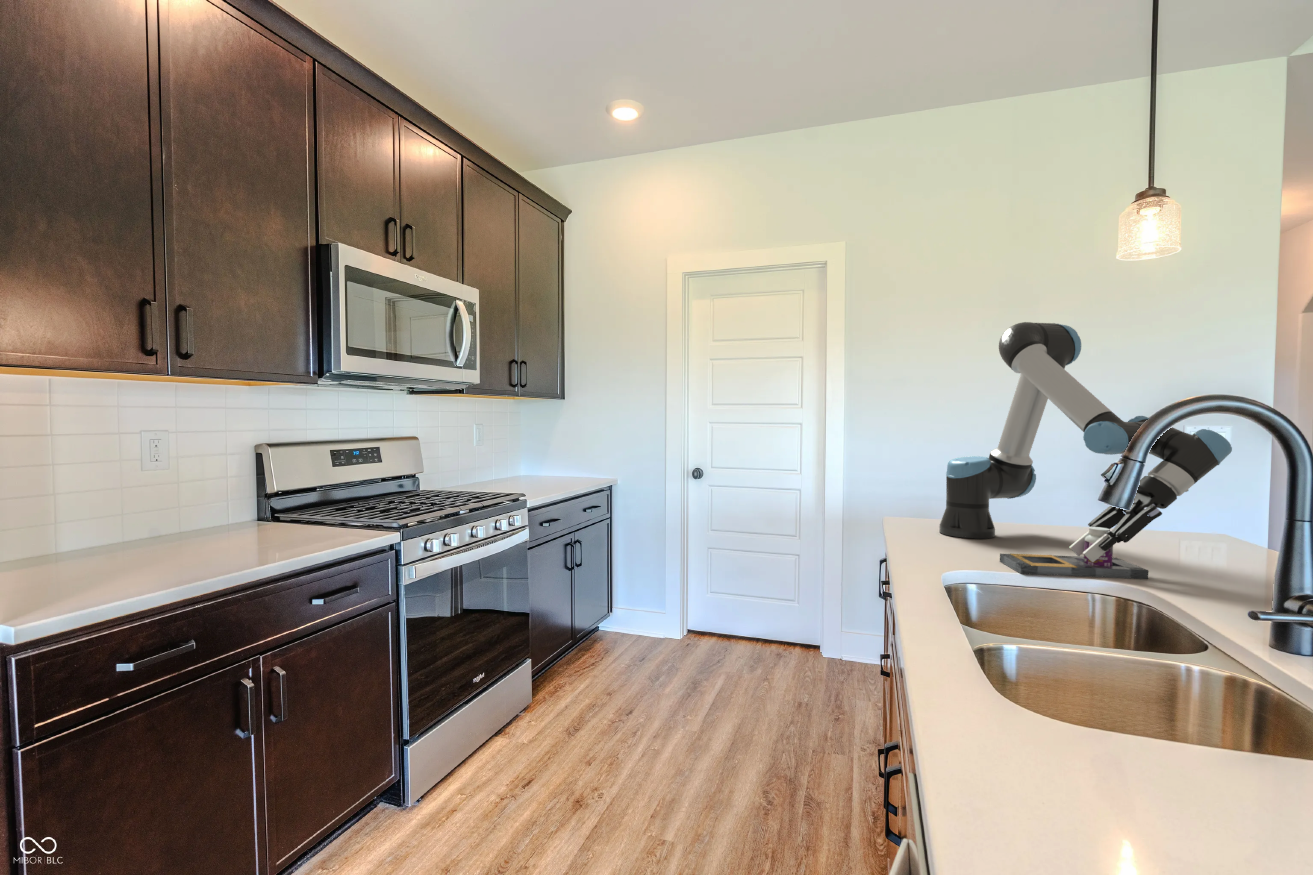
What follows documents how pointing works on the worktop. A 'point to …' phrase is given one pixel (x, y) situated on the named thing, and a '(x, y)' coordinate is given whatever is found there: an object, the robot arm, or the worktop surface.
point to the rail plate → (1070, 566)
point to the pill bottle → (1091, 539)
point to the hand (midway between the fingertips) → (1080, 554)
